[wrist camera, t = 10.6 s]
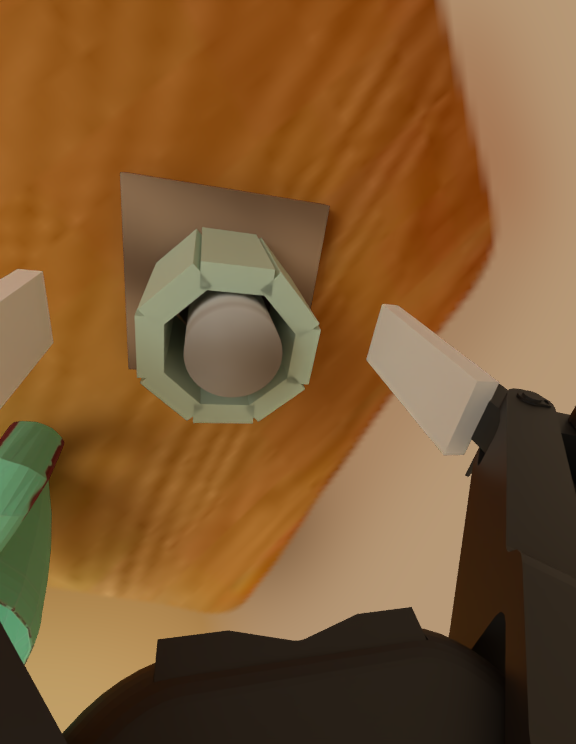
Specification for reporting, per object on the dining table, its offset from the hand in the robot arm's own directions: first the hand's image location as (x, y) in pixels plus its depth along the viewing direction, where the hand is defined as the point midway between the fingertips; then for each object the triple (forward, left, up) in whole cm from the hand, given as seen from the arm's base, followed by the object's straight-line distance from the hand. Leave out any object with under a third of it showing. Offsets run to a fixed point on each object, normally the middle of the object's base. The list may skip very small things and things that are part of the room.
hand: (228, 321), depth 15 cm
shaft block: (0, 0, -7) cm, 7 cm away
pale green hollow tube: (+1, 0, -5) cm, 5 cm away
